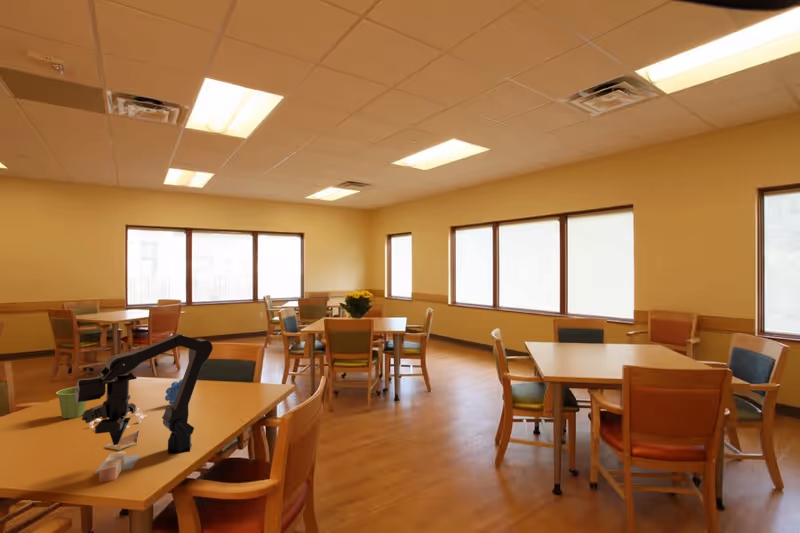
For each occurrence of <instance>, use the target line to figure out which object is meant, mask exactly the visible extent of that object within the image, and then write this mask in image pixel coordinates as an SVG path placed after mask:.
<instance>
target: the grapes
mask: <svg viewBox="0 0 800 533" xmlns="http://www.w3.org/2000/svg"><path fill="white" fill-rule="evenodd" d="M182 380H183V378H182V379H180V380H179V381H173V382H172V383H171V384H170V387H168V388H166V390H165V394H166V395H165V397H164V400H165V401H168V404H169V405H170V406H172V405H173V404H174V402H175V400H176V397H177V394H178V391H179V388H180V386H181V383H182Z"/></svg>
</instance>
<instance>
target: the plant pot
mask: <svg viewBox="0 0 800 533" xmlns="http://www.w3.org/2000/svg"><path fill="white" fill-rule="evenodd" d="M75 389H76V386H74V387H68V388H63V389H61V390H58V391H56V392H55V394H56V395H57V397H58V401H59V405H60V406H59V407H60V411H61V412H60V413H61V418H62V419H65V420H66V419H76V418H79V417H81V416H82V414H83V413H84V411H86V406H87V402H88V401H85V402H79V403H76V399H75Z"/></svg>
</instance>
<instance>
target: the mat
mask: <svg viewBox="0 0 800 533" xmlns="http://www.w3.org/2000/svg"><path fill="white" fill-rule="evenodd" d="M140 457H141V454H136V455H127V456H125V464H124V466H123V468H122V470H121V471H126V470H131V469H134V468H135V465H136V464H137V462H138V461H139V458H140ZM105 461H106V459H104V460H103V462H102V463H101V464H100V466H99V467H98V468H97V470H96V471H95V473H94V475H98V474H99V470H100V469H101V467H102V465H103V464H104V462H105Z"/></svg>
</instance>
